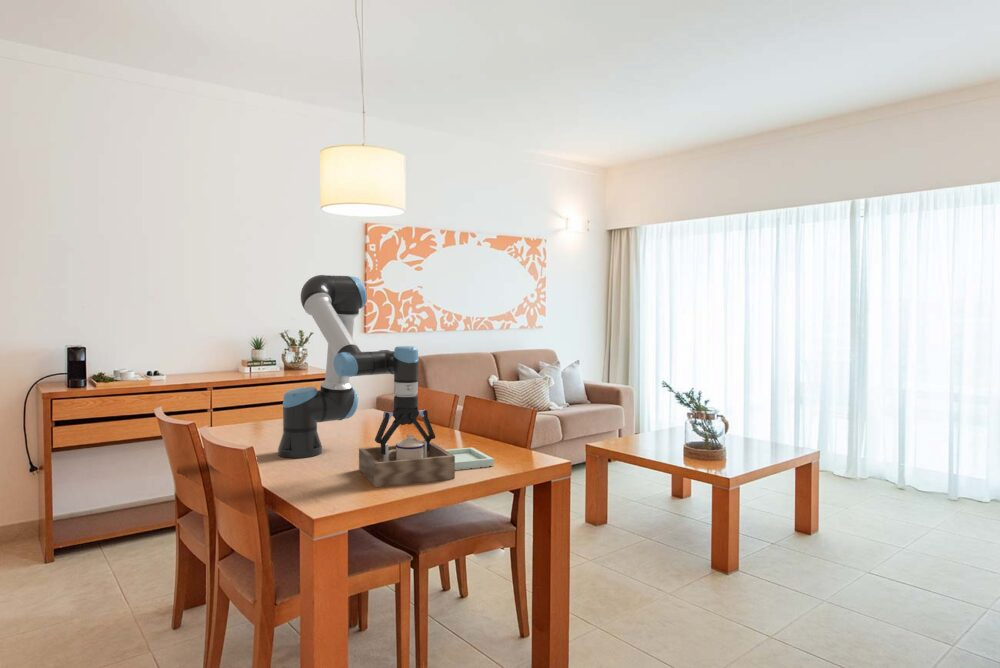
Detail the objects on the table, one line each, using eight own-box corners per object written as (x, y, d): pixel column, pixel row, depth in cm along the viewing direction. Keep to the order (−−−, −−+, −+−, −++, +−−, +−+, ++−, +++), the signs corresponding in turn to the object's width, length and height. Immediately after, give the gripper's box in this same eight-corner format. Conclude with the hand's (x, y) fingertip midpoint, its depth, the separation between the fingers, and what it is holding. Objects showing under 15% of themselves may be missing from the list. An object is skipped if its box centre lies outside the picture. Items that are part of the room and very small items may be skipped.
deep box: (374, 487, 186) (374, 463, 186) (358, 469, 206) (358, 448, 206) (454, 478, 196) (454, 456, 196) (432, 462, 216) (432, 442, 216)
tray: (448, 470, 206) (448, 463, 206) (430, 458, 223) (430, 451, 223) (493, 466, 212) (493, 458, 212) (472, 454, 230) (472, 447, 230)
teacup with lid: (420, 466, 208) (421, 431, 207) (426, 474, 199) (427, 437, 199) (384, 469, 204) (384, 433, 203) (388, 476, 195) (389, 439, 195)
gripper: (370, 398, 192) (370, 469, 193) (445, 395, 202) (445, 462, 203) (365, 395, 199) (364, 463, 200) (438, 391, 209) (437, 456, 210)
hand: (405, 462), depth 201 cm, fingers closed on teacup with lid, 12 cm apart
